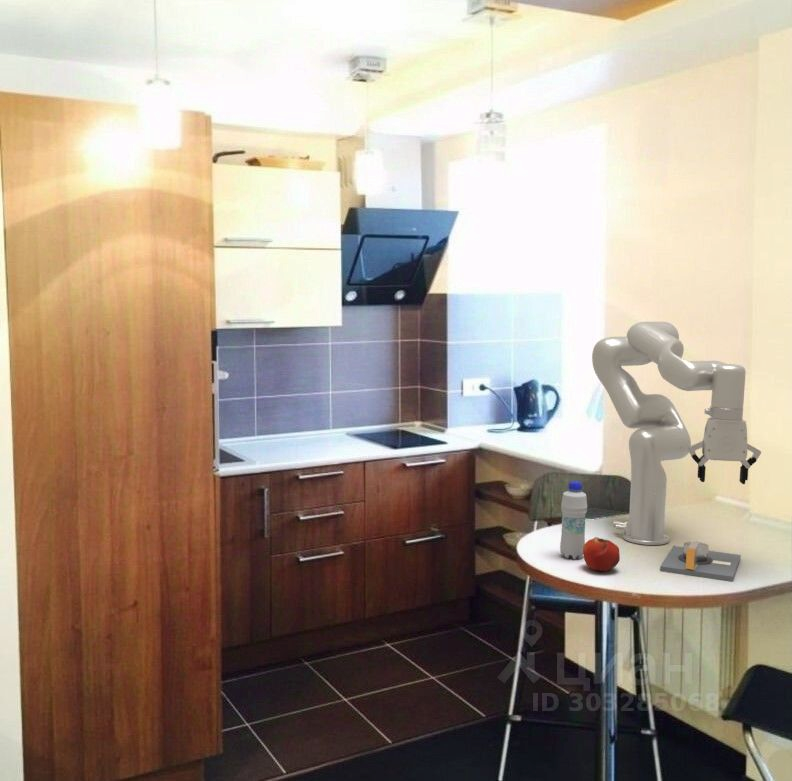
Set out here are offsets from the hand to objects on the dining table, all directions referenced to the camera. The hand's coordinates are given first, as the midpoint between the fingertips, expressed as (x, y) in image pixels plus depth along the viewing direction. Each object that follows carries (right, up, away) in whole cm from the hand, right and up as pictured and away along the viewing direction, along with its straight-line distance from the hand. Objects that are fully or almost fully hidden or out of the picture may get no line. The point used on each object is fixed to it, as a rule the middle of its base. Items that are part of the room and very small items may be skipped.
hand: (722, 482), depth 229 cm
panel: (-4, -22, +4) cm, 22 cm away
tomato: (-31, -22, -1) cm, 38 cm away
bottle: (-36, -21, +9) cm, 42 cm away
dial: (-7, -20, +2) cm, 21 cm away
